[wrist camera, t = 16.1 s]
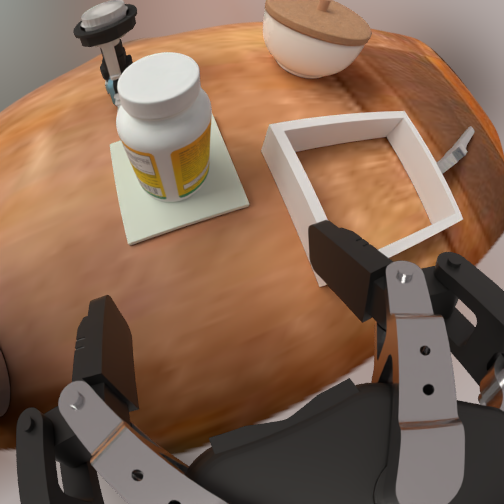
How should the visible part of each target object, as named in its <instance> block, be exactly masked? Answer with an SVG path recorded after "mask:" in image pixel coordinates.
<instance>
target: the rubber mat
mask: <svg viewBox="0 0 504 504" xmlns="http://www.w3.org/2000/svg"><path fill="white" fill-rule="evenodd" d="M110 151H111V158H112V165H113V171H114V177H115V183H116V189H117V194H118V200H119V205H120V210H121V215H122V219H123V224H124V228H125V233H126V237H127V241H128V244H129V245H133V244H136V243H139V242H141V241H144V240H147V239H150V238H153V237H156V236H159V235H161V234H164V233H167V232H170V231H173V230H176V229H179V228H182V227H185V226H188V225H191V224H194V223H197V222H200V221H203V220H207V219H210V218H213V217H216V216H219V215H222V214H226V213H229V212H232V211H235V210H239V209H242V208H245V207H248V206H249V202H248V199H247V197H246V194H245V192H244V189H243V187H242V184H241V182H240V180H239V177H238V175H237V172H236V170H235V167H234V165H233V162H232V160H231V158H230V155H229V153H228V150H227V148H226V146H225V143H224V141H223V138H222V136H221V133H220V131H219V129H218V126H217V124H216V122H215V119H214V117H213V114H212V117H211V135H210V165H209V173H208V177H207V179H206V181H205V183H204V184H203V186H202V187H201V188H200V189H199V190H198V191H197V192H196V193H194V194H193V195H191V196H190V197H188V198H186V199H183V200H180V201H176V202H164V201H159V200H156V199H154V198H152V197H151V196H149V195H148V194H147V193H146V192H145V191H144V190H143V188H142V187H141V185H140V183H139V181H138V179H137V177H136V174H135V172H134V170H133V168H132V165H131V163H130V161H129V158H128V156H127V154H126V151H125V149H124V147H123V144H122V142H121V140H120V141H117V142H115V143H112V144H110Z"/></svg>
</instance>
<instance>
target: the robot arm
mask: <svg viewBox="0 0 504 504" xmlns="http://www.w3.org/2000/svg"><path fill="white" fill-rule="evenodd" d="M308 240H309V258H310V263H311V265H312V268H313V269H314V271H315V272H316V273H317V274H318V275H319V276H320V277H321V279H322V280H323V281H324V282H325V283H326V284H327V285H328V286H329V287H330V288H331V289H332V290H333V291H334V292H335V293H336V295H337V296H338V297H339V298H340V299H341V300H342V301H343V302H344V303H345V304H346V305H347V306H348V307H349V309H350V310H351V311H352V312H353V313H354V314H355V315H356V316H357V317H358V318H359V319H360V321H361V322H362V323H363V322H365V321H367V320H368V319H370V318H372V317H373V318H374V319H375V351H374V371H373V376H372V382H371V383H365V384H359V385H354V383H353V382H352V381H351V380H350V378H349V379H347V380H345V381H343V382H341V383H340V384H338V385H336V386H334V387H332V388H330V389H328V390H326V391H325V392H323V393H321V394H319V395H317V396H316V397H315V398H314V399H312V400H311V401H310V402H309V403H307V404H306V405H305V406H304V407H303V408H301V409H300V410H299V411H297V412H296V413H295V414H294V415H292V416H291V417H289V418H288V419H286V420H282V421H277V422H270V423H264V424H257V425H250V426H244V427H241V428H239V429H236V430H233V431H230V432H227V433H224V434H221V435H217V436H214V437H211V438H209V440H210V443H211V445H212V447H211V448H209V449H207V450H206V451H205V452H203V453H202V454H201V455H200V456H198V457H197V458H196V459H195V460H194V461H193V463H192V464H191V465H190V466H188V465H186V464H185V463H183V462H182V461H180V460H179V459H177V458H176V457H174V456H173V455H171V454H170V453H169V452H167V451H166V450H165V449H163V448H162V447H161V446H160V445H158V444H157V443H156V442H155V441H153V440H152V439H151V438H150V437H149V436H147V435H146V434H145V433H144V432H143V431H142V430H141V429H139V428H138V427H137V426H136V425H135V424H134V423H133V422H131V421H130V416H129V412H130V411H134V410H138V409H139V405H138V398H137V390H136V381H135V372H134V361H133V347H132V335H131V332H130V329H129V326H128V324H127V322H126V321H125V319H124V318H123V316H122V315H121V313H120V311H119V310H118V308H117V306H116V305H115V303H114V301H113V300H112V298H111V297H110V296H109V295H106V296H103V297H100V298H97V299H94V300H92V301H90V304H89V311H88V316H86V317H84V318H83V320H82V321H81V323H80V325H79V327H78V331H77V338H76V340H77V341H76V346H75V349H76V350H75V354H74V364H73V375H72V383H70V384H69V385H67V386H66V387H65V388H64V389H63V391H62V392H61V395H60V397H59V403H58V405H59V406H57V407H55V408H54V409H52V410H50V411H48V412H47V413H45V414H43V413H41V412H40V411H39V410H37V409H36V408H28V409H26V410H24V411H23V412H22V413H21V415H20V417H19V419H18V422H17V432H16V456H17V474H18V486H19V494H20V501H21V504H104V501H103V497H102V493H101V489H100V485H99V480H98V475H97V472H98V473H99V474H100V475H101V476H102V477H103V478H104V479H105V481H106V482H107V483H108V484H109V485H110V486H111V487H112V488H113V489H114V490H115V491H116V492H117V493H118V494H119V495H120V496H121V497H122V498H123V499H124V500H125V501H126V502H127V503H128V504H504V291H503V290H502V289H501V288H500V287H499V286H498V285H496V284H495V283H494V282H493V281H492V280H490V279H489V278H488V277H487V276H486V275H485V274H483V273H482V272H481V271H480V270H479V269H477V268H476V267H475V266H474V265H472V264H471V263H470V262H469V261H467V260H466V259H465V258H464V257H462V256H461V255H459V254H456V253H453V252H444V253H441V254H440V255H439V256H438V258H437V262H436V266H432V267H427V268H422V269H421V268H420V267H418V266H417V265H415V264H414V263H411V262H408V261H396V262H393V261H392V260H390V259H389V258H388V257H386V256H385V255H384V254H383V253H381V252H380V251H379V250H377V249H376V248H375V247H373V246H372V245H371V244H370V245H369V243H368V242H367V241H365V240H364V239H362V238H361V237H360V236H358V235H357V234H356V233H354V232H353V231H350V230H347V229H344V228H338V227H337V226H335V225H334V224H333V223H331V222H330V221H328V220H324V221H321V222H318V223H315V224H312V225H310V226H309V227H308ZM458 299H460V300H461V301H462V302H463V303H464V304H465V305H466V306H467V307H468V308H469V309H470V310H471V311H472V312H473V313H474V314H475V315H476V318H477V325H476V327H474V326H473V325H472V324H471V323H470V322H469V321H468V320H467V319H466V318H465V317H464V316H463V315H462V314H461V313H460V312H459V311H458V310H457V309H456V308H455V306H456V303H457V301H458ZM451 353H452V354H453V355H454V356H455V357H456V358H457V360H458V361H459V362H460V363H461V364H462V365H463V367H464V368H465V369H466V370H467V372H468V373H469V374H470V375H471V376H472V378H473V379H474V380H475V381H476V382H477V384H478V385H479V386H480V394H479V396H478V401H479V403H480V404H481V405H479V404H473V403H468V402H463V401H458V400H456V389H455V380H454V373H453V365H452V359H451ZM9 401H10V384H9V377H8V372H7V368H6V364H5V361H4V358H3V355H2V353H1V350H0V416H3V415H4V414H5V412H6V411H7V409H8V406H9ZM485 405H486V406H485ZM55 460H56V461H58V462H60V468H61V475H62V482H63V488H64V492H63V491H62V490H61V488H60V486H59V484H58V478H57V470H56V461H55Z"/></svg>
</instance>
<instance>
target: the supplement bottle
mask: <svg viewBox="0 0 504 504" xmlns="http://www.w3.org/2000/svg"><path fill="white" fill-rule="evenodd" d="M117 89H118V93H119V97H120V101H121V106H120V108H119V110H118V113H117V118H116V126H117V131H118V134H119V137H120V139H121V142H122V144H123V147H124V149H125V151H126V154H127V156H128V158H129V161H130V163H131V165H132V168H133V170H134V172H135V174H136V177H137V179H138V181H139V183H140V185H141V187H142V188H143V190H144V191H145V192H146V193H147V194H148V195H149V196H151V197H152V198H154V199H156V200H159V201H164V202H176V201H180V200H183V199H186V198H188V197H190V196H191V195H193V194H194V193H196V192H197V191H198V190H199V189H200V188H201V187H202V186H203V184H204V183H205V181H206V179H207V177H208V173H209V165H210V135H211V117H212V108H211V103H210V100H209V97H208V95H207V94H206V92H205V91H204V90H203V89H202V88H201V87H200V70H199V67H198V65H197V63H196V62H195V61H194V60H193V59H192V58H190V57H188V56H186V55H183V54H180V53H172V52H165V53H157V54H153V55H149V56H146V57H144V58H141V59H139V60H137V61H136V62H134V63H132V64H131V65H130V66H129V67H127V68H126V69H125V70H124V72H123V73H122V74H121V76H120V78H119V80H118V84H117Z"/></svg>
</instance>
